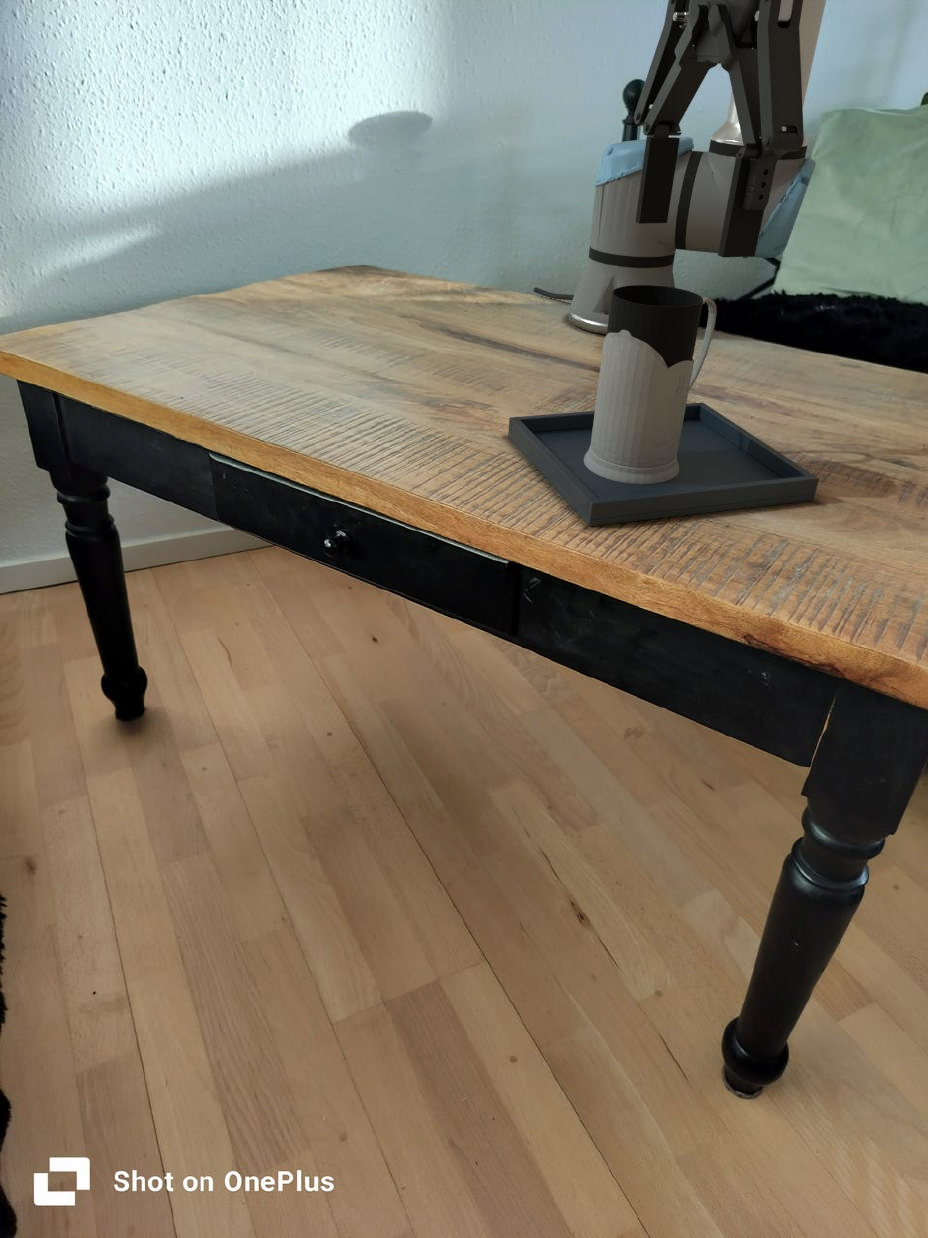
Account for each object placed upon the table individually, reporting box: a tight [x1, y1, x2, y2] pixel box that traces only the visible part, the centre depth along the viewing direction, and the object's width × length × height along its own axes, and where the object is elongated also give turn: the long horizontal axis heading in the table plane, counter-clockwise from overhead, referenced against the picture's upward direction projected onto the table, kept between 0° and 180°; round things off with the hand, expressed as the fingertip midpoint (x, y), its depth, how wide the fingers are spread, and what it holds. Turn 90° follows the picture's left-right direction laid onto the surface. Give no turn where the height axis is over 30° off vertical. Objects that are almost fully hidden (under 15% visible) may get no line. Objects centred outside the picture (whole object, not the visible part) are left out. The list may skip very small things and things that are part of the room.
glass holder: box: [584, 285, 717, 484], centre depth 77 cm, size 9×14×15 cm, turn 135°
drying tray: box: [507, 401, 820, 527], centre depth 80 cm, size 20×22×2 cm
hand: (690, 238), depth 70 cm, fingers open, 13 cm apart
